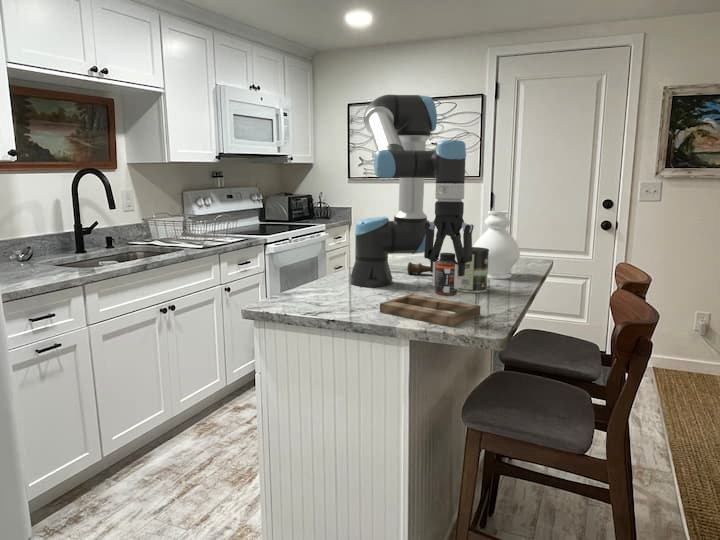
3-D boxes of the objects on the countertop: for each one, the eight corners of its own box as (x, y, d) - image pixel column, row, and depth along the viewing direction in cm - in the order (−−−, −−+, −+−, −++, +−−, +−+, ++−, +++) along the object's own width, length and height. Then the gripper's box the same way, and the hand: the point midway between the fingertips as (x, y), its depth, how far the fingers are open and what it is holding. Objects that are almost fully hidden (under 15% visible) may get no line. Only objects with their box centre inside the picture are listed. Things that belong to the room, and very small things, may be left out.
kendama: (410, 273, 212) (460, 275, 207) (405, 278, 203) (458, 280, 198) (410, 258, 211) (460, 259, 205) (405, 263, 202) (458, 264, 196)
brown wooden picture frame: (379, 311, 149) (379, 303, 149) (411, 301, 162) (411, 293, 161) (451, 326, 135) (452, 317, 135) (480, 314, 148) (480, 305, 147)
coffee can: (486, 287, 183) (488, 247, 181) (487, 293, 174) (489, 251, 171) (456, 286, 185) (458, 246, 183) (455, 292, 176) (457, 250, 173)
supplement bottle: (451, 297, 140) (453, 255, 138) (431, 295, 143) (432, 253, 141) (460, 294, 145) (462, 253, 143) (440, 291, 148) (441, 251, 146)
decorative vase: (490, 281, 193) (493, 213, 189) (462, 273, 209) (464, 210, 205) (528, 278, 200) (532, 212, 196) (498, 270, 216) (501, 209, 212)
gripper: (411, 200, 143) (409, 284, 147) (475, 201, 131) (472, 293, 135) (426, 199, 149) (424, 280, 152) (489, 201, 137) (485, 288, 141)
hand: (446, 286), depth 144 cm, fingers closed on supplement bottle, 6 cm apart
